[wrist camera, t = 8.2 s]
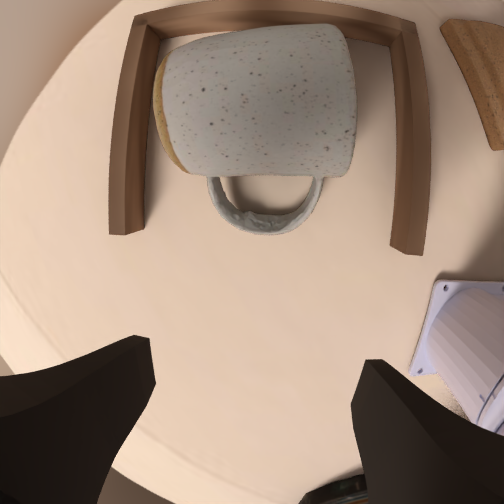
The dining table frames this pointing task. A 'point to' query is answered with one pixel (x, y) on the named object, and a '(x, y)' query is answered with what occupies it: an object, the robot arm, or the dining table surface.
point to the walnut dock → (265, 15)
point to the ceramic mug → (259, 112)
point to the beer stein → (340, 492)
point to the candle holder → (481, 70)
